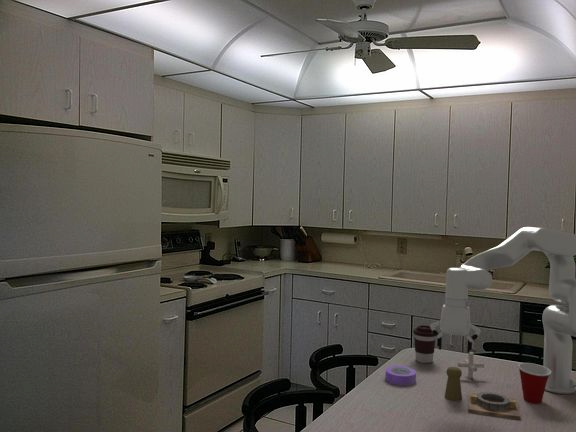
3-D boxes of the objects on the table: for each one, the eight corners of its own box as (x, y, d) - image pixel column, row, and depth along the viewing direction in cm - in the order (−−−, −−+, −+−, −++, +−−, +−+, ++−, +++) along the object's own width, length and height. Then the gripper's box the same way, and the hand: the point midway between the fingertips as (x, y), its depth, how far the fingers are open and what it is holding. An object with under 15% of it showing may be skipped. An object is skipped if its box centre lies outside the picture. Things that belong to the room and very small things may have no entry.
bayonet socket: (515, 401, 183) (516, 393, 183) (520, 419, 168) (520, 410, 168) (467, 395, 188) (468, 386, 188) (468, 412, 173) (468, 403, 173)
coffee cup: (413, 363, 223) (414, 329, 222) (411, 356, 233) (412, 323, 232) (437, 365, 221) (438, 330, 221) (434, 358, 231) (435, 324, 231)
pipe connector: (487, 382, 202) (488, 357, 201) (461, 381, 202) (462, 356, 202) (478, 373, 212) (479, 349, 211) (454, 372, 212) (454, 348, 212)
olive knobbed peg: (462, 396, 187) (463, 366, 187) (462, 402, 181) (463, 371, 181) (444, 393, 189) (445, 364, 189) (444, 399, 183) (445, 369, 183)
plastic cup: (536, 409, 177) (537, 374, 176) (509, 397, 186) (511, 365, 186) (557, 403, 182) (558, 370, 181) (530, 393, 191) (531, 361, 191)
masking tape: (410, 387, 195) (411, 377, 195) (381, 381, 201) (381, 372, 201) (419, 378, 205) (419, 369, 205) (391, 373, 211) (391, 363, 211)
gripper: (481, 303, 185) (479, 350, 185) (431, 298, 190) (429, 344, 191) (482, 307, 177) (480, 356, 178) (430, 302, 183) (428, 350, 184)
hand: (454, 350), depth 184 cm, fingers open, 9 cm apart
